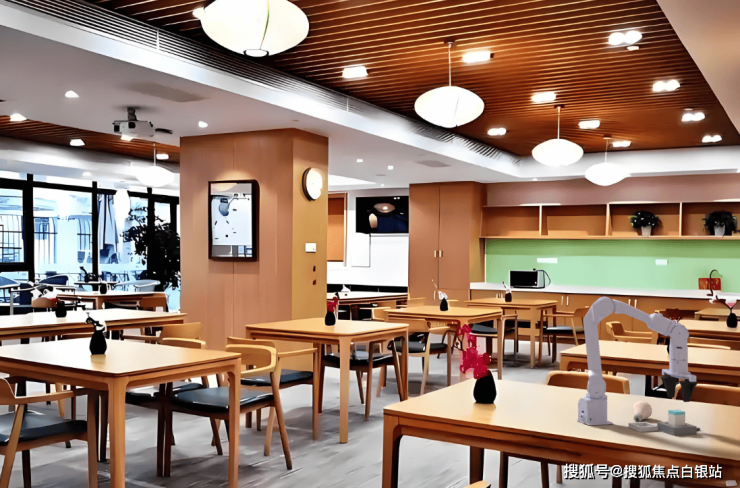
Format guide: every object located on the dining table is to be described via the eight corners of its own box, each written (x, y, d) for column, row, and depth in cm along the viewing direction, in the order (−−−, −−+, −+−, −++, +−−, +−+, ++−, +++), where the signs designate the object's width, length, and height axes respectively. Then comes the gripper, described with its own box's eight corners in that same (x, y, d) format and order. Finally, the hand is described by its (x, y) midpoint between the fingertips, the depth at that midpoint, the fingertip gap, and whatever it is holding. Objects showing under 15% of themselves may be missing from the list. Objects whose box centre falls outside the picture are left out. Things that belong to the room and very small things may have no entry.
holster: (640, 431, 228) (640, 427, 228) (628, 427, 234) (628, 422, 234) (658, 430, 230) (658, 426, 230) (645, 426, 236) (645, 421, 236)
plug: (674, 433, 227) (674, 412, 227) (668, 431, 230) (668, 410, 230) (685, 432, 228) (685, 411, 228) (678, 430, 231) (678, 409, 231)
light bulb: (643, 410, 239) (651, 397, 248) (625, 411, 243) (633, 398, 252) (649, 428, 240) (656, 413, 249) (630, 428, 244) (638, 414, 253)
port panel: (673, 435, 224) (673, 427, 224) (657, 429, 231) (657, 422, 231) (708, 433, 227) (708, 425, 227) (691, 427, 235) (691, 420, 235)
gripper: (703, 362, 227) (704, 403, 227) (674, 356, 241) (674, 395, 241) (685, 362, 225) (686, 404, 225) (656, 356, 239) (656, 395, 239)
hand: (678, 399), depth 233 cm, fingers open, 7 cm apart
